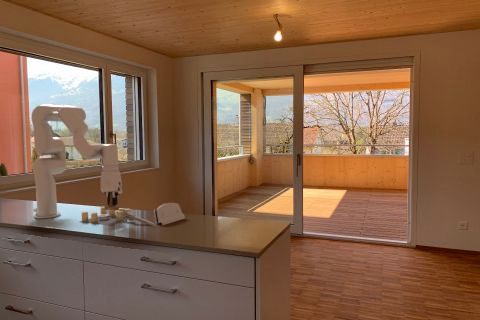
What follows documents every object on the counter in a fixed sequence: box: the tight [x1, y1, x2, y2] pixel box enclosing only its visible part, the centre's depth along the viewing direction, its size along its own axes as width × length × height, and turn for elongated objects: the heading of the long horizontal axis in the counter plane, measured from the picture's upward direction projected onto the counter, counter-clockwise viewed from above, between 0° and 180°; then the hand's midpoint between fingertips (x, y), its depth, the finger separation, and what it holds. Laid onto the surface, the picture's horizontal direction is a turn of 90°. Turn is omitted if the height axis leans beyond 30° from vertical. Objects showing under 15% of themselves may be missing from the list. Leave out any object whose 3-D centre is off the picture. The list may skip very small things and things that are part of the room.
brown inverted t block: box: [104, 192, 120, 212], centre depth 181 cm, size 3×7×9 cm, turn 158°
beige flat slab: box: [153, 202, 186, 226], centre depth 182 cm, size 17×5×10 cm, turn 147°
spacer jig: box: [79, 206, 132, 226], centre depth 183 cm, size 20×18×5 cm
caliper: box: [122, 210, 157, 227], centre depth 176 cm, size 20×1×6 cm, turn 67°
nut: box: [97, 213, 110, 220], centre depth 184 cm, size 5×6×2 cm
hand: (112, 204), depth 181 cm, fingers closed on brown inverted t block, 2 cm apart
